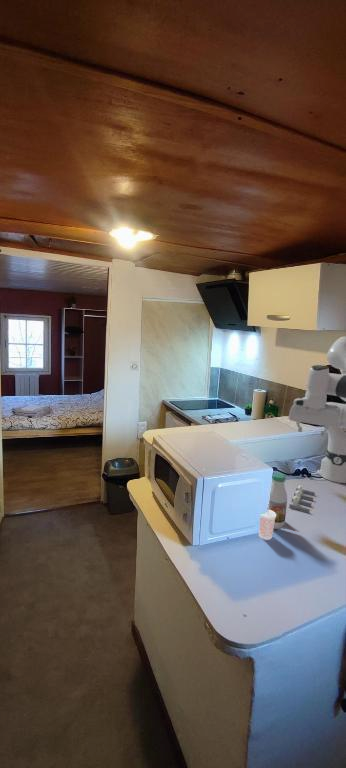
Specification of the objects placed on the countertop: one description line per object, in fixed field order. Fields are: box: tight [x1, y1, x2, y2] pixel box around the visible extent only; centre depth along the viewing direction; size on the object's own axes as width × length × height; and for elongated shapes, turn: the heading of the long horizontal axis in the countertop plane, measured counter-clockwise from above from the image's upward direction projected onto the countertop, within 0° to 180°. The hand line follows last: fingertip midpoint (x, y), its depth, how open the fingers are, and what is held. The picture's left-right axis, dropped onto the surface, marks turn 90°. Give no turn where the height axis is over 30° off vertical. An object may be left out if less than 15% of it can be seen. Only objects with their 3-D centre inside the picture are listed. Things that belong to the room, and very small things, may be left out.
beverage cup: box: [258, 500, 276, 541], centre depth 131 cm, size 6×6×14 cm
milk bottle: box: [269, 472, 288, 530], centre depth 138 cm, size 8×8×20 cm
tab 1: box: [297, 484, 304, 495], centre depth 164 cm, size 3×2×4 cm, turn 152°
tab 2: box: [294, 490, 302, 500], centre depth 158 cm, size 3×2×4 cm, turn 153°
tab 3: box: [292, 495, 299, 506], centre depth 153 cm, size 3×2×4 cm, turn 152°
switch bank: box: [288, 487, 316, 514], centre depth 158 cm, size 24×9×2 cm, turn 153°
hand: (311, 433), depth 159 cm, fingers open, 8 cm apart
